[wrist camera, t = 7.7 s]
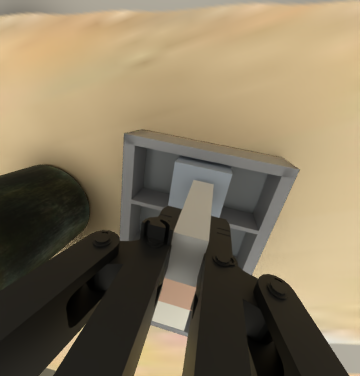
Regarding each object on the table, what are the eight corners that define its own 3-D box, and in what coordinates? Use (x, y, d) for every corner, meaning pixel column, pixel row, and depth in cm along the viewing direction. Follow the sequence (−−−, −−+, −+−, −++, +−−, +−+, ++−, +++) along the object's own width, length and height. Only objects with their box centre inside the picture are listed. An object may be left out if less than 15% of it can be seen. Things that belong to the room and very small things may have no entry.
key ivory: (156, 303, 26) (151, 320, 24) (160, 281, 24) (154, 298, 22) (186, 312, 25) (183, 331, 23) (192, 291, 24) (190, 309, 22)
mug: (96, 172, 22) (-25, 233, 11) (94, 261, 28) (14, 357, 17) (16, 150, 23) (-170, 184, 12) (30, 240, 29) (-85, 318, 18)
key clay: (159, 281, 23) (153, 299, 20) (163, 254, 21) (157, 270, 19) (193, 291, 22) (191, 310, 20) (201, 264, 20) (199, 282, 18)
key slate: (173, 198, 18) (167, 210, 16) (180, 155, 16) (174, 161, 14) (217, 209, 17) (217, 223, 15) (230, 165, 16) (232, 174, 14)
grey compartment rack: (129, 288, 28) (116, 314, 25) (142, 129, 19) (123, 133, 15) (218, 315, 27) (219, 346, 23) (282, 157, 17) (299, 169, 14)
